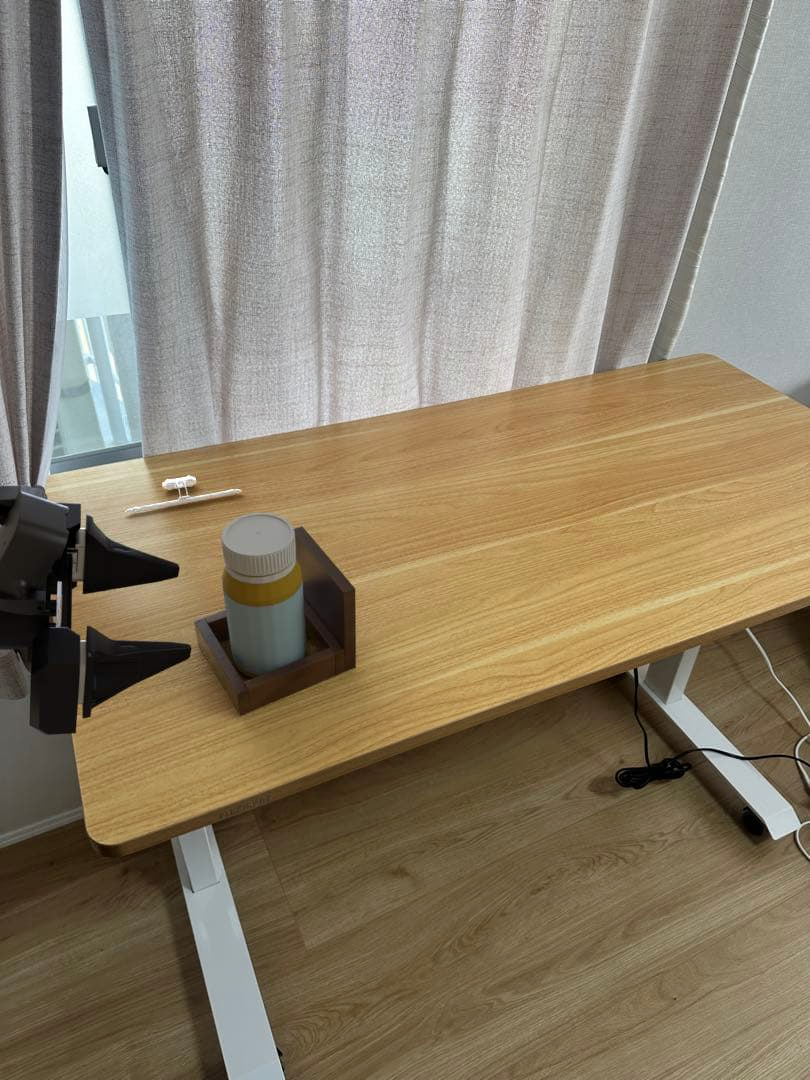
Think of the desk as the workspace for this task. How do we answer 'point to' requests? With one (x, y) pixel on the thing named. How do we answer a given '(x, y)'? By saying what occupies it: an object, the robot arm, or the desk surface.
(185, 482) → the picture light
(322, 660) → the tray
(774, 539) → the desk surface
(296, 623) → the bottle
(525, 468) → the desk surface
